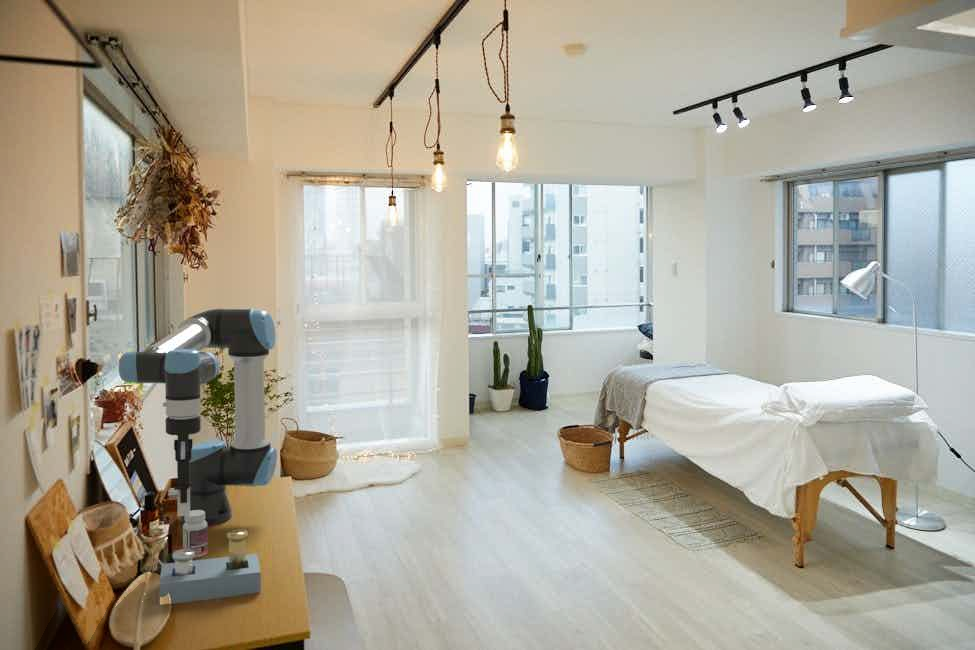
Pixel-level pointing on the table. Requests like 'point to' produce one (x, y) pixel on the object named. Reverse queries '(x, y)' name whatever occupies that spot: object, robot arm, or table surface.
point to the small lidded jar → (183, 561)
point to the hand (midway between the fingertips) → (183, 514)
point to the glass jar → (237, 548)
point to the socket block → (210, 580)
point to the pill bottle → (195, 533)
